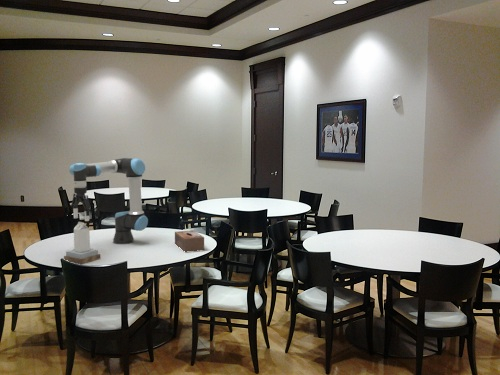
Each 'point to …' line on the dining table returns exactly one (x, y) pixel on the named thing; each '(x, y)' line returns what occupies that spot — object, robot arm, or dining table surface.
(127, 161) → the robot arm
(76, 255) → the top slab
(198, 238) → the tissue box cover
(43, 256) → the dining table surface
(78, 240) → the milk carton
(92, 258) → the bottom slab
